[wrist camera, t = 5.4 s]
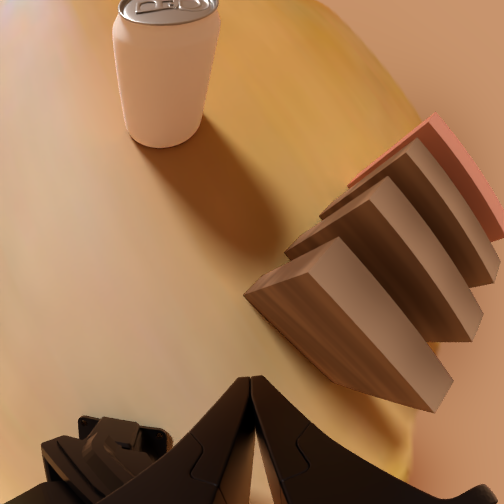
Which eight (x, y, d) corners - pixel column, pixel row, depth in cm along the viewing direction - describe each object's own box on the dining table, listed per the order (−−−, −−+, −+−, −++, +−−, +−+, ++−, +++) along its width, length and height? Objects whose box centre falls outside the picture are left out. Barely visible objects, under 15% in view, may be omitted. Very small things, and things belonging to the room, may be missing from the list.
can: (206, 145, 23) (236, 26, 11) (127, 157, 21) (104, 37, 10) (195, 89, 24) (217, -21, 12) (125, 98, 22) (115, -14, 11)
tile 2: (365, 339, 23) (472, 341, 12) (283, 252, 22) (369, 199, 12) (377, 321, 23) (483, 314, 13) (300, 235, 23) (387, 175, 13)
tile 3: (392, 300, 24) (494, 283, 14) (318, 216, 24) (405, 152, 14) (402, 283, 25) (500, 261, 14) (331, 202, 25) (417, 137, 14)
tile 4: (413, 265, 26) (506, 237, 15) (346, 185, 25) (428, 121, 15) (421, 251, 26) (509, 220, 16) (357, 174, 26) (435, 111, 16)
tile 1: (332, 382, 21) (434, 413, 11) (242, 295, 21) (308, 272, 11) (347, 363, 22) (453, 380, 11) (261, 275, 22) (338, 236, 11)
